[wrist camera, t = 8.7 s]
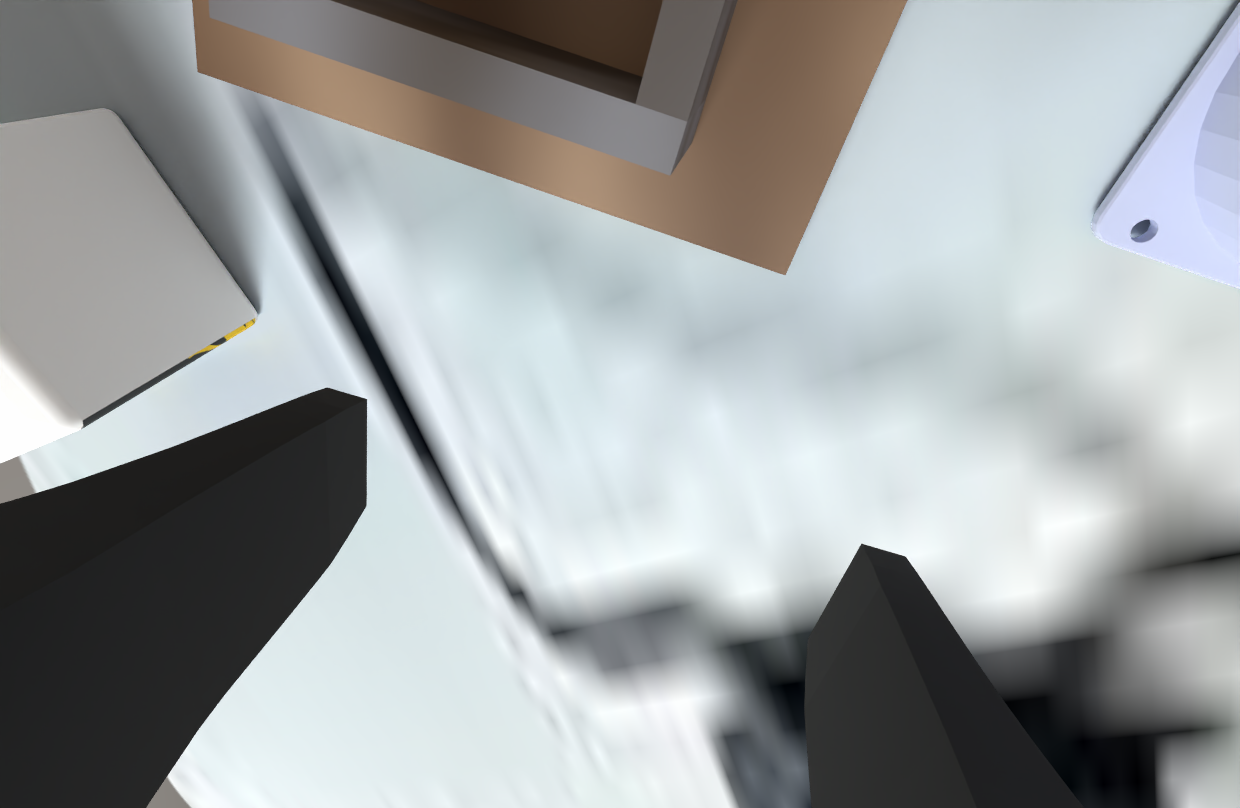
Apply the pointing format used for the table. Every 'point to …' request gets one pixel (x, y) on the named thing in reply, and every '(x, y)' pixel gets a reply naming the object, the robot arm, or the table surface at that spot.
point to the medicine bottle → (96, 278)
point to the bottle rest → (587, 95)
